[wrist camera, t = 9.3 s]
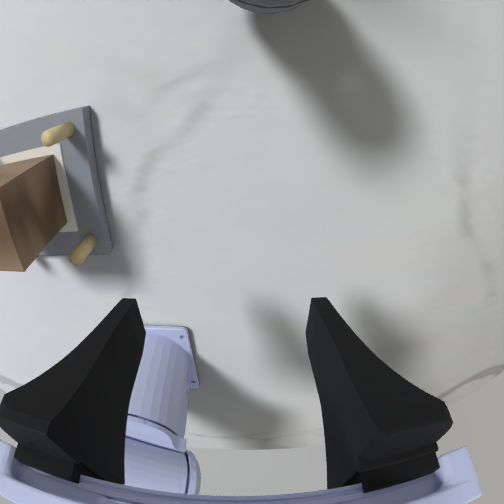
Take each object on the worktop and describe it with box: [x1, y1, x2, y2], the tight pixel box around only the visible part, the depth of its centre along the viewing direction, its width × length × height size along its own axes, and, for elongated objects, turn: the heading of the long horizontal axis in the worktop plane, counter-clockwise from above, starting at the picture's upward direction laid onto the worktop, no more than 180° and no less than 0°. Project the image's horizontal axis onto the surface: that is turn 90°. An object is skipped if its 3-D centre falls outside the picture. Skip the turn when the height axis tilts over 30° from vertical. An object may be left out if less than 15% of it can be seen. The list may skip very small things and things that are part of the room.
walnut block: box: [0, 154, 67, 272], centre depth 15 cm, size 5×5×6 cm
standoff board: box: [0, 106, 113, 266], centre depth 17 cm, size 10×10×4 cm
